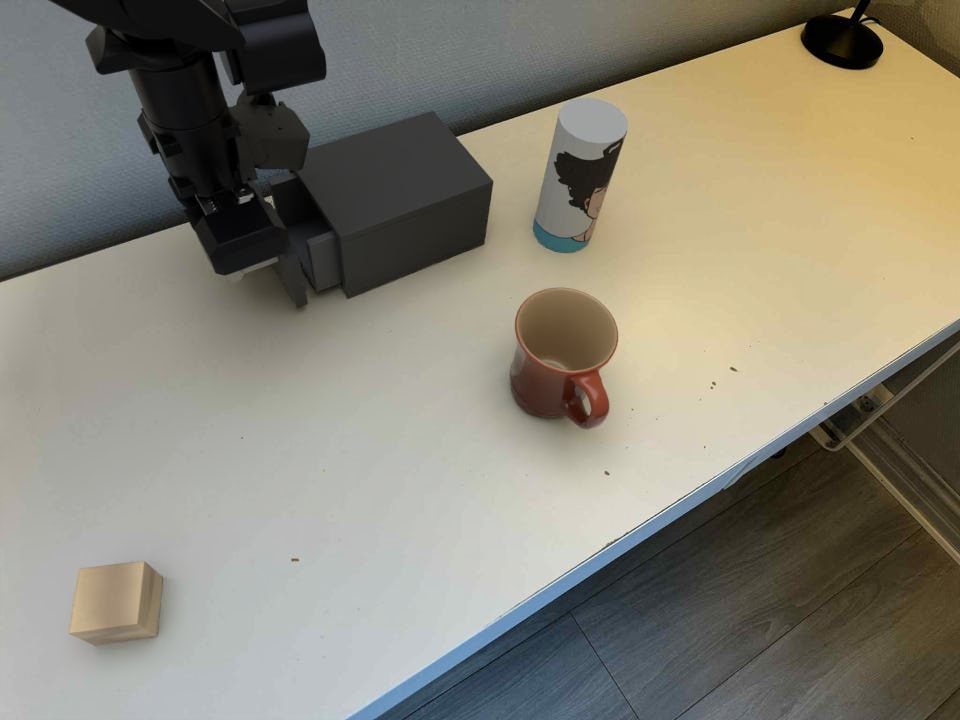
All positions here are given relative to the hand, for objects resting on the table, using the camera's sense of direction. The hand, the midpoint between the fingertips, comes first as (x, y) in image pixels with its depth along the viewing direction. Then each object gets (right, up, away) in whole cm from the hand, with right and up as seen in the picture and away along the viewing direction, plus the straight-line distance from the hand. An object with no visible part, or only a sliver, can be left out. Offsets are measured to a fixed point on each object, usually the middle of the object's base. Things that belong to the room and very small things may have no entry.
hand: (233, 248), depth 62 cm
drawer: (+7, +1, +7) cm, 10 cm away
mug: (+30, -15, +1) cm, 33 cm away
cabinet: (+13, +3, +11) cm, 17 cm away
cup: (+32, +4, +14) cm, 35 cm away
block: (-3, -29, -12) cm, 32 cm away
